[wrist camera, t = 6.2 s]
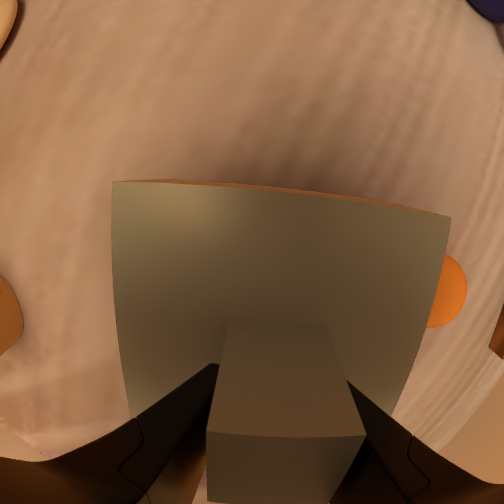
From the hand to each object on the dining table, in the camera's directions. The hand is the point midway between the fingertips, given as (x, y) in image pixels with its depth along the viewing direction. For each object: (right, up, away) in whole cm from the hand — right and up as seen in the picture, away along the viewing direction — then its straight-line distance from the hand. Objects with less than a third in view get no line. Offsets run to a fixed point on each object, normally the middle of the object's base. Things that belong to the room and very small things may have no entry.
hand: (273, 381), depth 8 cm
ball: (+11, +1, +9) cm, 15 cm away
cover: (0, +2, +7) cm, 7 cm away
